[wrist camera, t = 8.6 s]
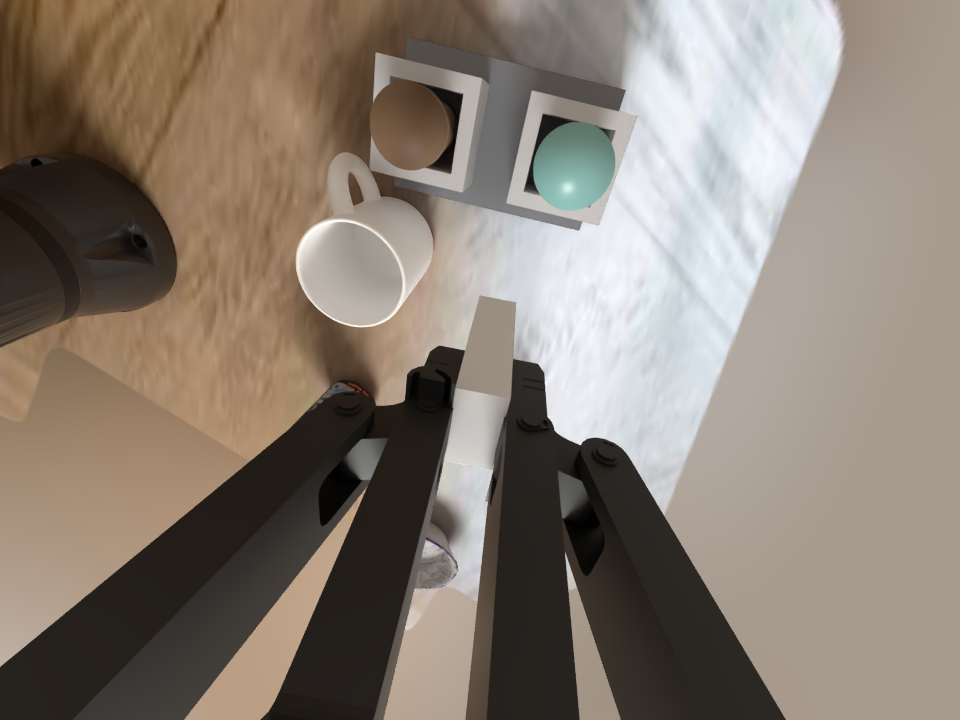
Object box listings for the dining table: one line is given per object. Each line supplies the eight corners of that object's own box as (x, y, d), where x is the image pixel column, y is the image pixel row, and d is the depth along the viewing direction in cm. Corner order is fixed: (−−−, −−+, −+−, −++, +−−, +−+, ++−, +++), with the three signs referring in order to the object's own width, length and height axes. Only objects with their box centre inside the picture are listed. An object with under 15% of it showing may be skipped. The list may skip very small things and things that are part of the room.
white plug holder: (396, 181, 35) (368, 193, 29) (408, 40, 30) (377, 19, 24) (581, 226, 35) (591, 247, 29) (625, 93, 30) (648, 85, 24)
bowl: (397, 494, 56) (386, 523, 52) (476, 530, 59) (472, 561, 54) (366, 540, 63) (354, 569, 59) (438, 571, 65) (432, 601, 61)
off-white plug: (526, 183, 31) (524, 200, 24) (543, 115, 29) (546, 113, 22) (584, 197, 31) (598, 218, 24) (605, 130, 29) (628, 132, 22)
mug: (325, 155, 35) (254, 166, 26) (416, 140, 33) (373, 146, 25) (364, 286, 41) (317, 331, 32) (443, 278, 39) (416, 323, 30)
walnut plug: (403, 152, 32) (367, 161, 25) (409, 83, 29) (371, 71, 22) (459, 166, 32) (439, 178, 25) (470, 98, 29) (451, 91, 22)
